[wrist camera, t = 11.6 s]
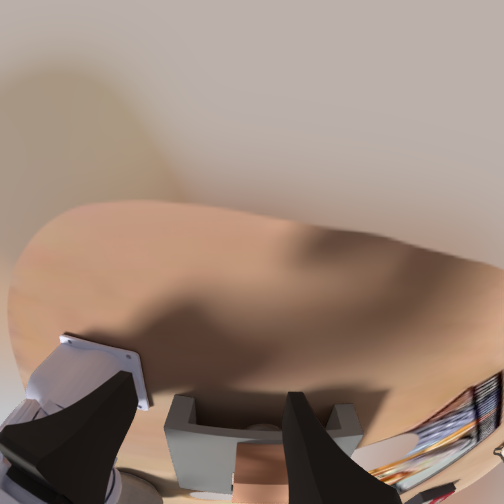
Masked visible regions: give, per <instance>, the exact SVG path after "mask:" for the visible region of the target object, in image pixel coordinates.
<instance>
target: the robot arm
mask: <svg viewBox="0 0 504 504" xmlns="http://www.w3.org/2000/svg"><path fill="white" fill-rule="evenodd" d="M60 341H61V344H60V345H59V346H58V347H57V348H56V349H55V350H54V351H53V352H52V353H51V354H50V355H49V356H48V357H47V358H46V359H45V360H44V361H43V362H42V364H41V365H40V366H39V367H38V368H37V369H36V370H35V371H34V372H33V373H32V375H31V377H30V379H29V381H28V384H27V388H26V399H25V400H24V401H22V402H21V403H20V404H19V405H18V406H17V407H16V408H15V409H14V410H13V412H12V413H11V414H10V415H9V416H8V417H7V419H6V420H5V421H4V422H3V424H2V425H1V426H0V504H116V503H117V502H118V500H119V497H120V494H121V489H122V483H121V475H120V473H119V471H118V470H117V469H116V468H115V467H114V466H115V463H116V461H117V457H116V456H117V453H118V451H119V449H120V447H121V444H122V442H123V440H124V438H125V436H126V434H127V432H128V430H129V428H130V426H131V423H132V421H133V419H134V416H135V413H136V410H137V409H141V410H145V411H147V410H149V402H148V398H147V393H146V388H145V384H144V379H143V373H142V368H141V362H140V357H139V355H138V354H137V353H136V352H133V351H128V350H123V349H119V348H114V347H110V346H106V345H102V344H98V343H94V342H90V341H86V340H82V339H79V338H75V337H72V336H68V335H65V334H62V335H61V336H60ZM128 355H130V356H131V357H130V356H128ZM282 440H283V447H284V454H285V461H286V468H287V475H288V489H289V504H402V502H401V499H400V496H399V494H398V492H397V490H396V489H395V488H393V487H391V486H389V485H387V484H385V483H384V482H382V481H380V480H378V479H377V478H375V477H374V476H372V475H371V474H369V473H368V472H367V471H365V470H364V469H363V468H362V467H360V466H359V465H358V464H357V463H355V462H354V461H353V460H352V459H351V458H350V457H349V456H348V455H347V454H346V453H345V452H344V451H343V450H342V449H341V448H340V447H339V446H338V445H337V444H336V442H335V441H334V440H333V439H332V438H331V436H330V435H329V434H328V432H327V431H326V430H325V428H324V427H323V425H322V424H321V422H320V421H319V420H318V418H317V416H316V415H315V413H314V412H313V410H312V408H311V406H310V405H309V403H308V401H307V399H306V397H305V395H304V393H303V392H288V396H287V401H286V405H285V409H284V413H283V417H282Z"/></svg>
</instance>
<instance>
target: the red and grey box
mask: <svg viewBox="0 0 504 504" xmlns="http://www.w3.org/2000/svg"><path fill="white" fill-rule="evenodd" d="M454 490H456V488H455V486H454V484H453V483H451V484H448V485H445V486H442V487H439V488H436V489H433V490H427V491H424V492H420V493H419V494H417V495H416V496H414V497H413V498H411V499H410V500H408V501H407V502H405V503H404V504H439V503H440V502H441V501H443V500H444V499H446V498H447V497H448V496H450V495H451V494H452V493H454V492H455V491H454Z"/></svg>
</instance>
